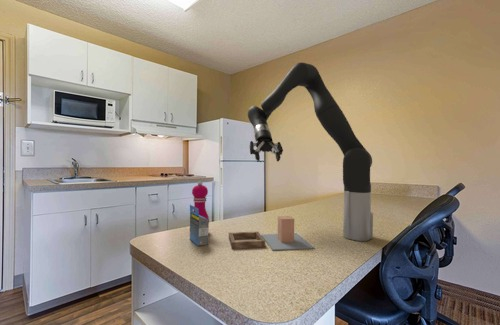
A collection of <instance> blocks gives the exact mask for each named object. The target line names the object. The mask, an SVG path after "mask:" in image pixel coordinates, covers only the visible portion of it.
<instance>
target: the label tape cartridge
mask: <svg viewBox="0 0 500 325" xmlns="http://www.w3.org/2000/svg"><path fill="white" fill-rule="evenodd" d="M194 210H195V211H196V212H194ZM209 224H210V219H209V220H208V219H206V218H204V217H202V216H200V215H199V211H198V208H196V207H194V205H192V204H189V240H190V241H192V242H193V243H194V244H195V245H196V246H197V247H201V246H207V245H209V226H210V225H209Z"/></svg>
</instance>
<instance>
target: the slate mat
mask: <svg viewBox="0 0 500 325" xmlns="http://www.w3.org/2000/svg"><path fill="white" fill-rule="evenodd" d="M260 235H261V236H262V237H263V239H264V240H265V244H267V245H268V246H269V248H270V250H271V251H273V252H274V251H293V250H295V251H296V250H312V249H315V246H313V245H312V244H311V243H309V242H308V241H307V240H306V239H304V238H303V237H302V236H301V235H300V234H298V233H297V232H294V242H285V243H281V242H280V241H279V240H278V233H265V234H264V233H263V234H262V233H260Z"/></svg>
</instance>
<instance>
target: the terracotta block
mask: <svg viewBox="0 0 500 325" xmlns="http://www.w3.org/2000/svg"><path fill="white" fill-rule="evenodd" d="M294 233H295V218H294V217H292V216H291V215H278V216H277V234H278V240H279V241H280V242H281V243H285V242H294Z"/></svg>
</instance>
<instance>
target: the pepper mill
mask: <svg viewBox="0 0 500 325" xmlns="http://www.w3.org/2000/svg"><path fill="white" fill-rule="evenodd" d="M208 193H209V190H208V187H207V186H206V185H203V181H201V180H199V181H198V182H197V185H195V186H194V187H192V191H191V195H192V196H193V197H192V199H193V203H194V205H193V206H194V207H196V208H198V211H199V215H200V216H202V217H204V218H206V219H208V220H209V221H210V219H209V215H208V213H207V209H206V202H207V195H208ZM193 211H194V212H196V211H195V210H193Z"/></svg>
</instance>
